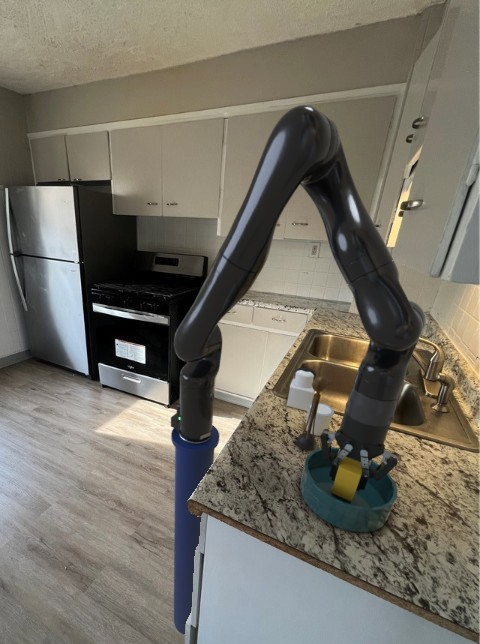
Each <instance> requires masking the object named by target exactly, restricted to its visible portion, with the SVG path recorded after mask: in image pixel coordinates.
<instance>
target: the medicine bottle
mask: <svg viewBox="0 0 480 644" xmlns="http://www.w3.org/2000/svg"><path fill="white" fill-rule="evenodd" d="M315 378H317V372H316V371H315V369H312V368H310V367H298V368H296V369H295V372H294V377H293V378H292V380H291V383H290V385H289V389H288V393H287V400H286V407H289V408H292V409H298V410H301V411H305V412H307V409H308V404H310V403H312V401H313V397H314V394H315V393H316V391H315V390H314V389H313V388H312V382H313V381H314V379H315Z"/></svg>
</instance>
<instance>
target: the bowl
mask: <svg viewBox="0 0 480 644" xmlns="http://www.w3.org/2000/svg"><path fill="white" fill-rule="evenodd" d="M339 449H340V447H335V446H334V447H332V453H333V454H335V455H336V454H337V452H338V451H339ZM346 457H347V456H346ZM348 458H350V457H348ZM350 459H353V460H356V459H354V458H350ZM356 461H358V460H356ZM358 462H360V461H358ZM379 464H380V463H378V462H376V461H374V459H371V468H372V469H375V468H376V467H377V466H378V465H379ZM331 466H332V464H331V462H330V461H326V460H324V458H323V452H322V447H320V448H318V449H314V450H312V451H310V453H309V454H308V455H307V456H306V458H305V460H304V464H303V468H302V472H301V477H300V482H299V483H300V484H299V489H300V494H301V496H302V498H303V500H304V503H306V505H307V506H308V507H309V509H311V510H312V511H313V512H314V514H316V515H317V517H319V518H321V519H322V520H324V521H325V522H327V523H329V524H331V525H333V526H334V527H337V528H338V529H339V528H340V529H341V530H345V531H350V532H355V533H370V532H374V531H378V530H379V529H381V528H382V527H383V526H384V525H385V524H386V522H387V521H388V519H389V517H390V515H391V512H392V510H393V508H394V505H395V503H396V501H397V498H398V487H397V485H396V481H394V479H393V477H392V476H391V474H390V472H388V473H387V474H386V475H385V476H384V477H383V478H382V479H381V480H379V481H377V480H375V479H374V478H369V479H368V481H367V484H366V487H365V489H364V490H361V489H360V491H357V490H356V492H355V495H354V498H353V501H352V502H351V501H349V500H347V499H344V498H342V497H340V496H338V495H335V494H333V493H331V491H332V488H333V485H334V481H333V480H332V477H330V475H329V473H330V470H331Z"/></svg>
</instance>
